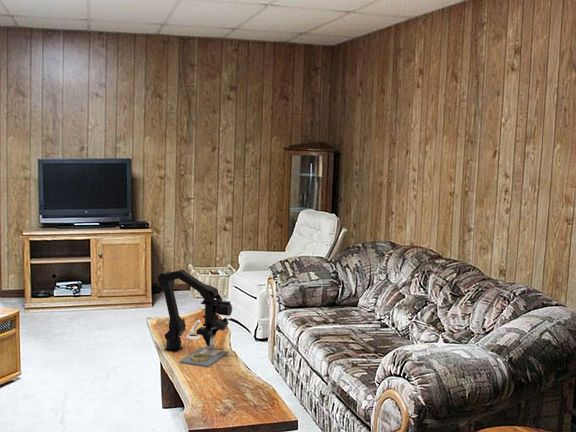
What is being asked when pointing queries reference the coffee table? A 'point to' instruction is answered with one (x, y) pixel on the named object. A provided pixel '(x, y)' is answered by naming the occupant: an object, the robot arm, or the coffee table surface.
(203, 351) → the mat
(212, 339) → the peg
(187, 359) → the board
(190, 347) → the coffee table surface
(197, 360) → the brass octagonal ring
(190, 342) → the coffee table surface
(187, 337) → the hook
